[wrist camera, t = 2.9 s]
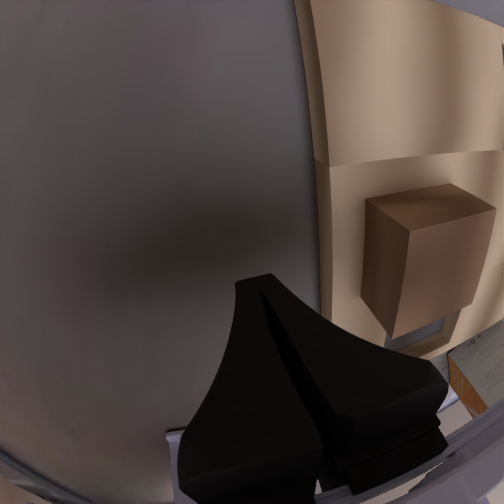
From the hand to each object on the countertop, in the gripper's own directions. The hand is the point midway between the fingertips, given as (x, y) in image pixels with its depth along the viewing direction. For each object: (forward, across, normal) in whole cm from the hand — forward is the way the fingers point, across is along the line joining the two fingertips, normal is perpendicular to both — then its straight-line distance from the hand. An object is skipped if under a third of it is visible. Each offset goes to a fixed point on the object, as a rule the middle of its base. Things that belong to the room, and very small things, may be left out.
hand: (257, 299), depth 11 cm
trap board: (+3, -15, 0) cm, 15 cm away
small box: (+3, -20, +17) cm, 26 cm away
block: (+1, -8, 0) cm, 8 cm away
